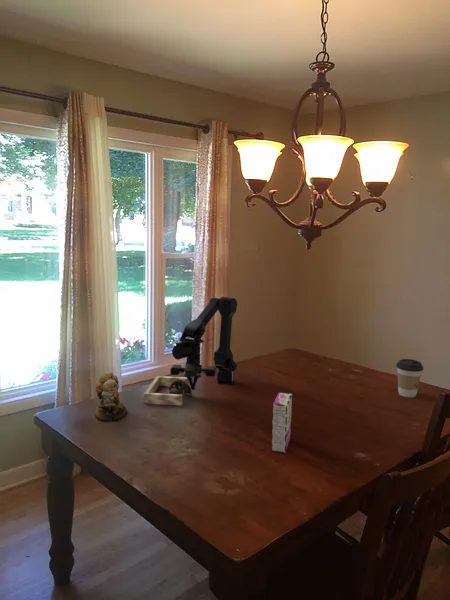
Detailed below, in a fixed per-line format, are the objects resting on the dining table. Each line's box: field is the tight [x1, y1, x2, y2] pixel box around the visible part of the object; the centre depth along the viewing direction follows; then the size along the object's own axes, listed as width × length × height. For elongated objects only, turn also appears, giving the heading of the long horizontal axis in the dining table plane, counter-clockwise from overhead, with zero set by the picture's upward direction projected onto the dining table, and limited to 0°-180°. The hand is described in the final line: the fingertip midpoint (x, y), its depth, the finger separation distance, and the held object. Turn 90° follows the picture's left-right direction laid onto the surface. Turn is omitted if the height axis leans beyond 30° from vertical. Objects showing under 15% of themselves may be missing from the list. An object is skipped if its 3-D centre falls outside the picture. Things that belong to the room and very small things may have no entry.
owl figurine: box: [94, 371, 128, 423], centre depth 185 cm, size 18×12×17 cm, turn 15°
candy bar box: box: [271, 392, 293, 454], centre depth 163 cm, size 11×5×16 cm, turn 164°
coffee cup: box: [395, 358, 424, 398], centre depth 214 cm, size 11×11×15 cm
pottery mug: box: [168, 379, 193, 398], centre depth 206 cm, size 12×10×8 cm
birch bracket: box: [143, 375, 191, 406], centre depth 208 cm, size 16×23×4 cm
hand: (193, 389), depth 207 cm, fingers closed
